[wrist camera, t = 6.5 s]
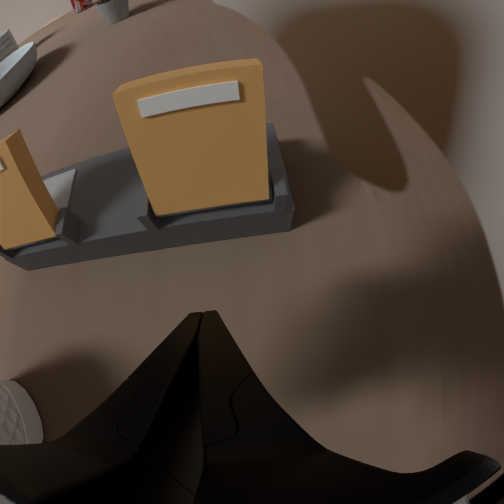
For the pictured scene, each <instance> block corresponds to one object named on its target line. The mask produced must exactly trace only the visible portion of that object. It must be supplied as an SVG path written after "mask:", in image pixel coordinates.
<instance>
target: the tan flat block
mask: <svg viewBox="0 0 504 504" xmlns="http://www.w3.org/2000/svg"><path fill="white" fill-rule="evenodd" d="M58 213H59V210H58V208H57V206H56V204H55V202H54V201H53V199H52V197H51V195H50V193H49V191H48V190H47V188H46V186H45V184H44V182H43V180H42V178H41V176H40V174H39V172H38V170H37V168H36V166H35V163H34V161H33V159H32V157H31V155H30V152H29V150H28V148H27V146H26V143H25V141H24V138H23V136H22V134H21V131H20V129H18V130H16V131H15V132H13V133H11V134H10V135H8V136H7V137H5V138H3V139H2V140H0V245H1V246H2V247H3V249H4V250H6V251H8V250H12V249H16V248H20V247H23V246H27V245H31V244H35V243H39V242H43V241H47V240H52V239H56V238H58V237H57V236H55V230H56V224H57V219H58Z"/></svg>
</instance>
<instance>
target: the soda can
mask: <svg viewBox="0 0 504 504" xmlns="http://www.w3.org/2000/svg"><path fill="white" fill-rule="evenodd" d="M70 1H71V4H72V6H73V9H74V11H75V12H78V13H79V12H82V11H84V10H86V9H87V8H89V7H91V5H92V4H93V2H92V0H88V1H87V0H70Z"/></svg>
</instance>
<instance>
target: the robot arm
mask: <svg viewBox="0 0 504 504" xmlns="http://www.w3.org/2000/svg"><path fill="white" fill-rule="evenodd" d="M500 468H501V465H500V464H499V463H498V462H497V461H496V460H494V459H492V458H491V457H488V456H486V455H483V454H479V453H475V452H472V451H468V450H466V451H462V452H460V453H458V454H456V455H454V456H452V457H450V458H448V459H447V460H445V461H443V462H441V463H439V464H438V465H436V466H434V467H432V468H429V469H427V470H424V471H421V472H415V473H397V472H391V471H388V470H384V469H381V468H378V467H375V466H371V465H368V464H365V463H362V462H359V461H356V460H354V459H351V458H348V457H345V456H343V455H340V454H337V453H335V452H333V451H330V450H328V449H327V448H325V447H324V446H322V445H321V444H319V443H318V442H317V441H316V440H314V439H313V438H312V437H311V436H310V435H309V434H308V433H307V432H306V431H305V430H304V429H303V428H301V427H300V426H299V425H298V424H297V423H296V422H295V421H294V420H293V419H292V418H291V417H290V416H289V415H288V414H287V413H286V412H285V411H284V410H283V409H282V408H281V406H280V405H279V404H278V403H277V402H276V401H275V400H274V399H273V397H272V396H271V395H270V394H269V393H268V391H267V390H266V389H265V387H264V386H263V384H262V383H261V382H260V380H259V379H258V377H257V376H256V374H255V373H254V371H253V370H252V368H251V366H250V365H249V363H248V362H247V360H246V358H245V357H244V355H243V354H242V352H241V350H240V349H239V347H238V346H237V344H236V342H235V341H234V339H233V337H232V336H231V334H230V332H229V331H228V329H227V327H226V326H225V324H224V322H223V321H222V319H221V317H220V315H219V314H218V312H217V311H216V310H213V311H205V312H204V313H203V312H195V313H190V314H188V316H187V317H186V318H185V319H184V320H183V321H182V322H181V323H180V324H179V325H178V326H177V327H176V328H175V329H174V330H173V331H172V332H171V333H170V334H169V335H168V336H167V337H166V338H165V339H164V341H163V342H162V343H161V344H160V345H159V346H158V347H157V348H156V349H155V350H154V351H153V352H152V353H151V354H150V355H149V356H148V357H147V358H146V359H145V360H144V361H143V362H142V363H141V364H140V366H139V367H138V368H137V369H136V370H135V371H134V372H133V373H132V374H131V375H130V376H129V377H128V380H125V381H124V382H123V383H122V384H121V385H120V386H119V387H118V388H117V389H116V390H115V391H114V392H113V393H112V394H111V395H110V396H109V397H108V398H107V399H106V400H105V401H104V402H103V403H102V404H100V405H99V406H98V407H97V408H96V409H95V410H94V411H92V412H91V413H90V414H89V415H88V416H86V417H85V418H84V419H83V420H82V421H81V422H79V423H78V424H77V425H76V426H75V427H73V428H72V429H71V430H70V431H69V432H67V433H66V434H65V435H63V436H62V437H60V438H58V439H56V440H53V441H50V442H46V443H36V444H19V445H0V504H504V473H503V474H502V475H501V476H499V477H498V478H497V479H496V480H495V481H493V482H492V483H491V484H490V485H488V486H487V487H486V488H484V489H483V490H482V491H480V492H479V493H478V494H476V495H475V496H474V497H472V498H471V499H468V497H467V494H468V493H470V492H471V491H473V490H474V489H476V488H477V487H478V486H480V485H481V484H482V483H484V482H485V481H486V480H487V479H489V478H490V477H491V476H492V475H494V474H495V473H496V472H497V471H498V470H499V469H500Z"/></svg>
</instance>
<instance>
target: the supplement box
mask: <svg viewBox="0 0 504 504" xmlns="http://www.w3.org/2000/svg"><path fill="white" fill-rule="evenodd" d="M17 49H19V47H18V45H17V43H16V41H15V39H14V38H13V36H12V34H11V32H10V30H9V29H7V30H6V31H5V32H4V33H2V34H1V35H0V63H1V62H2V61H3V60H4V59H6V58H7V57H8V56H9V55H11V54H12V53H13V52H15V51H16V50H17Z"/></svg>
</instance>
